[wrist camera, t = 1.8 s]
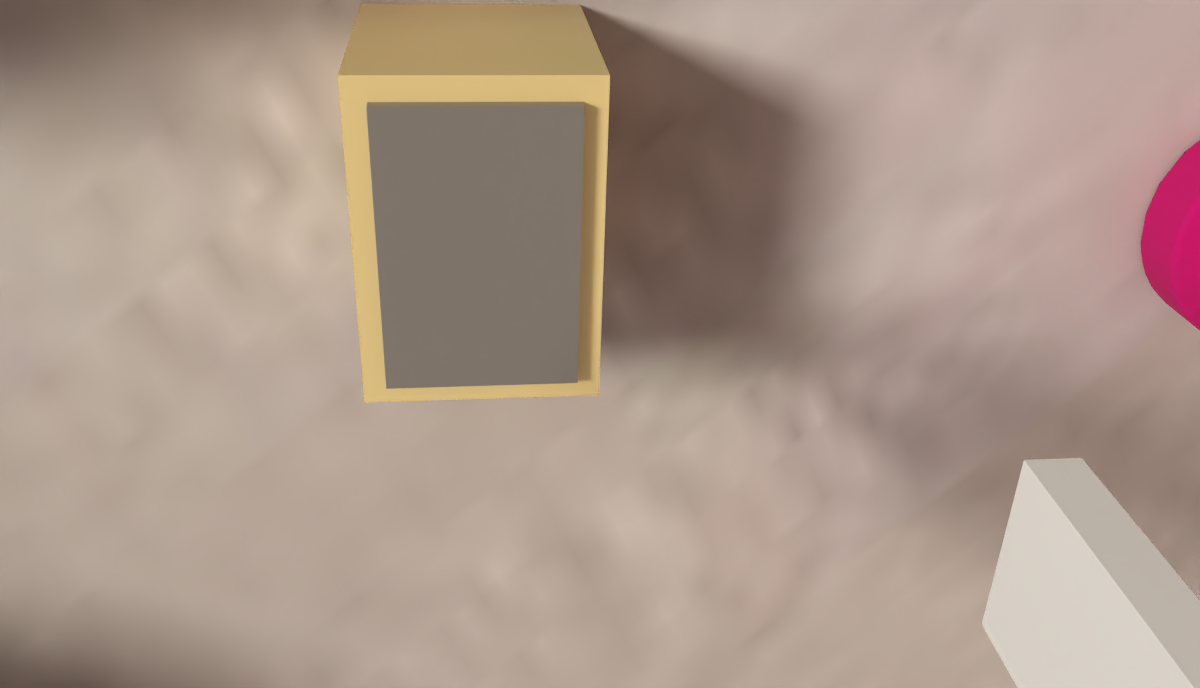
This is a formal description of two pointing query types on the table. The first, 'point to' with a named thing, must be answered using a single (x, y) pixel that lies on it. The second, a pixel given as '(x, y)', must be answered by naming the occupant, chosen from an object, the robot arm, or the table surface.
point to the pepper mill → (1176, 237)
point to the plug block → (476, 199)
